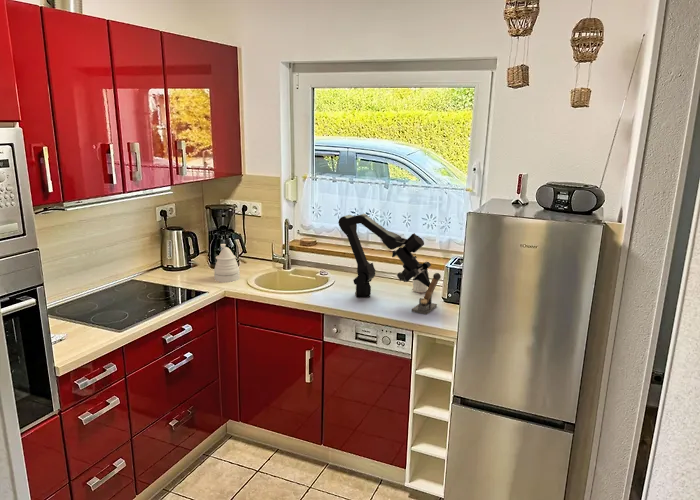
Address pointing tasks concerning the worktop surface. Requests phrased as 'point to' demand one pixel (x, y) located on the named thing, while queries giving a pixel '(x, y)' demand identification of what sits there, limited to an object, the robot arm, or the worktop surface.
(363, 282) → the robot arm
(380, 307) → the worktop surface
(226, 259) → the honey pot
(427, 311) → the press base
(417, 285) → the white cup
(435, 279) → the lever
